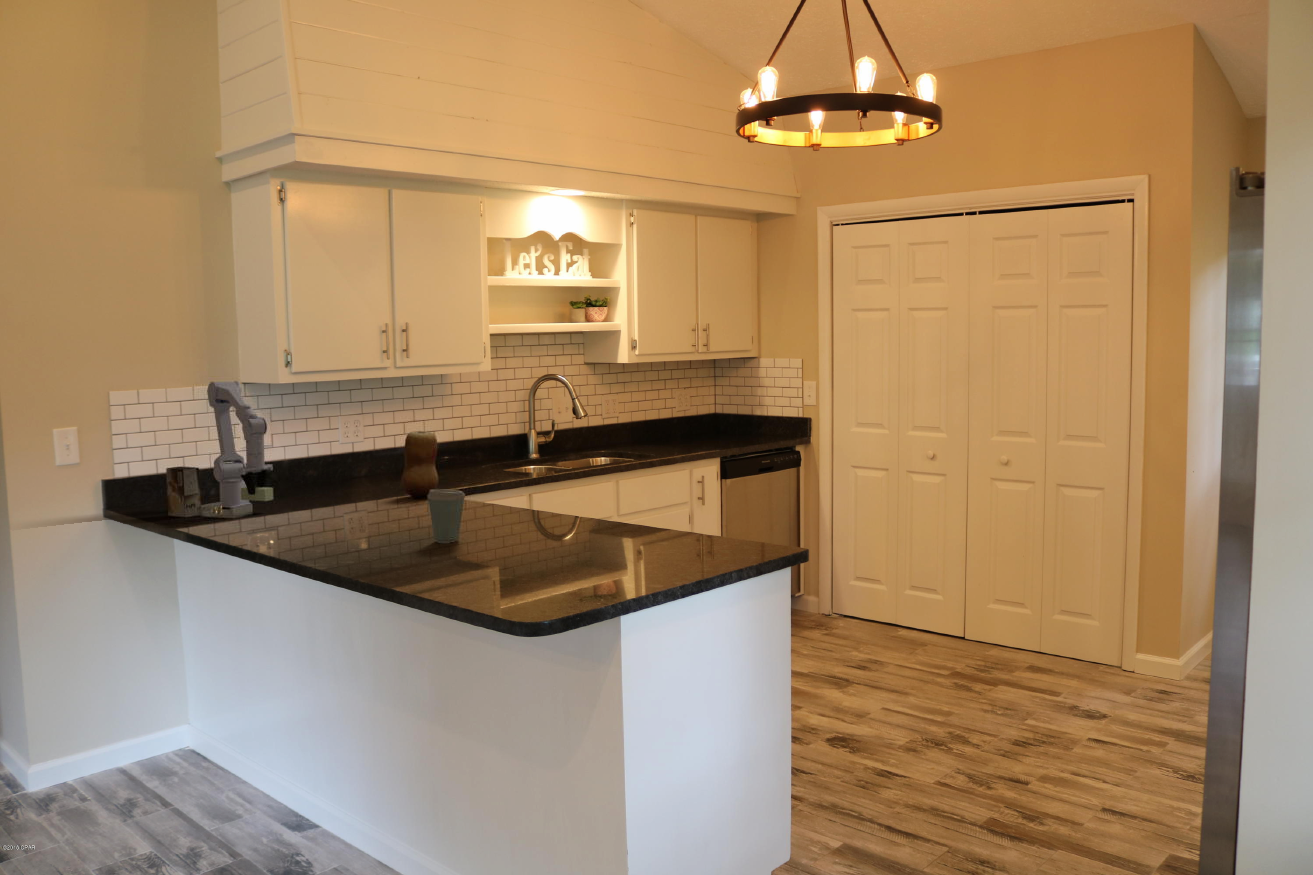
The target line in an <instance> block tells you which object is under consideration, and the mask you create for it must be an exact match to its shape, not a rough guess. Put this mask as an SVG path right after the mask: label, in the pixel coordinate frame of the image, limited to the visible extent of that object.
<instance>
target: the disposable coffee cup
mask: <svg viewBox="0 0 1313 875" xmlns="http://www.w3.org/2000/svg"><path fill="white" fill-rule="evenodd" d="M465 498H466V494H465V493H464V491H462V490H457V489H435V490H430V491H429V494H428V496H427V499H428V507H429V511H430V519H431V526H432V531H433V532H432V534H433V538H434V542H435V543H437V542H438V544H451V543H450V542H454V543H456V542H455V541H457V542H458V539H459V536H460V530H461V523H462V516H463V511H464V510H463V508H464V503H465Z"/></svg>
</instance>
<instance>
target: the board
mask: <svg viewBox="0 0 1313 875" xmlns="http://www.w3.org/2000/svg"><path fill="white" fill-rule="evenodd" d="M241 500H249V501H257V502H259V501H260V502H268V501H272V500H274V487H267V486H266V487H257V486H256V487H255V494H254V495H251V494H248V490H247V487H244V488H241Z"/></svg>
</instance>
